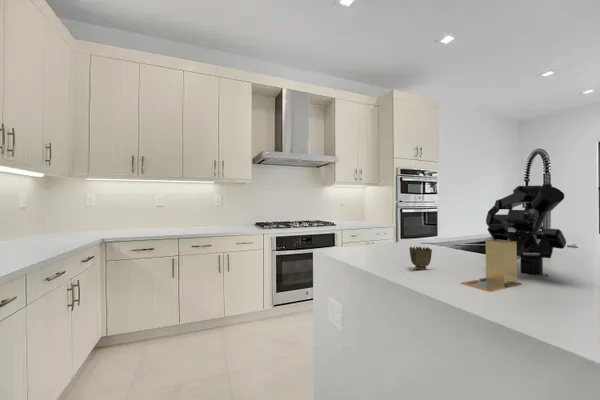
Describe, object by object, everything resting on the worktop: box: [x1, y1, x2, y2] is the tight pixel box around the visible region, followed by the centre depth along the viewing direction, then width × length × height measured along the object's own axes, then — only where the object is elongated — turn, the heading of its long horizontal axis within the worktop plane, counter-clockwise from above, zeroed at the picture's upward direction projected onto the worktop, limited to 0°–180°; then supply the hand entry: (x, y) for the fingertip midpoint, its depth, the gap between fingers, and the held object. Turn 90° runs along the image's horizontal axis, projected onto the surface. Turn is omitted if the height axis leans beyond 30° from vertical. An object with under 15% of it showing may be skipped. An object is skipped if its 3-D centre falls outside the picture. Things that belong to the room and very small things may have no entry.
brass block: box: [485, 239, 518, 286], centre depth 81 cm, size 6×5×12 cm
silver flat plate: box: [460, 277, 523, 293], centre depth 80 cm, size 15×8×1 cm, turn 115°
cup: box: [408, 246, 433, 272], centre depth 100 cm, size 8×7×8 cm
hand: (513, 256), depth 84 cm, fingers closed
